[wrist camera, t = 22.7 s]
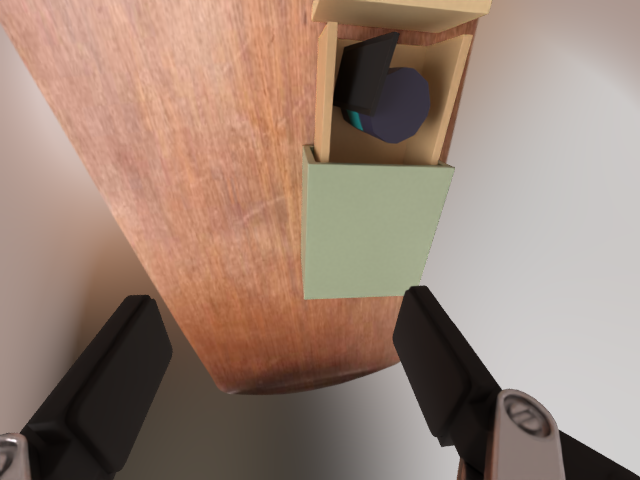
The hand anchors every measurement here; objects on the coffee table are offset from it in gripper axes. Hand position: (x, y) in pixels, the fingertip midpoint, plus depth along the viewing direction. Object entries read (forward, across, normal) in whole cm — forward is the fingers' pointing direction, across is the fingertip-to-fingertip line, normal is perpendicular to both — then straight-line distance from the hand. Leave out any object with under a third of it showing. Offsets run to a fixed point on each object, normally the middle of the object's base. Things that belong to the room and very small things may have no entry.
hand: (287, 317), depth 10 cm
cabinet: (+26, -9, +6) cm, 29 cm away
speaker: (+24, -9, -8) cm, 27 cm away
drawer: (+25, -9, -10) cm, 29 cm away
